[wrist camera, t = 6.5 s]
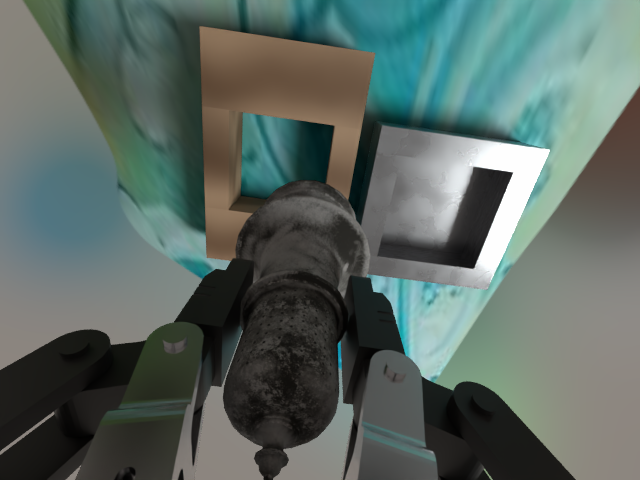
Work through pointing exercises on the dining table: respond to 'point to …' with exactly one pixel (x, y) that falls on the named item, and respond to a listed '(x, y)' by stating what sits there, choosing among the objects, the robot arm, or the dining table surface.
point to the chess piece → (293, 317)
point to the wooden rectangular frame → (272, 113)
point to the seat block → (443, 202)
